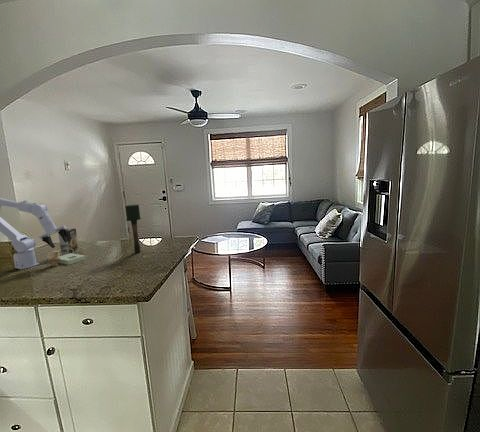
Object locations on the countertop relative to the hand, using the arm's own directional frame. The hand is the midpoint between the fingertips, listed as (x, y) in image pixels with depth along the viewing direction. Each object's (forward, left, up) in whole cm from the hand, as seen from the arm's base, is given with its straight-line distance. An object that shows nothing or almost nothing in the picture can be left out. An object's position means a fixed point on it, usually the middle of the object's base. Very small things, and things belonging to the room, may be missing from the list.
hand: (60, 244), depth 161 cm
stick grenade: (+31, -27, -11) cm, 43 cm away
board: (+4, 0, -11) cm, 12 cm away
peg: (-5, -1, -11) cm, 12 cm away
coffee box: (+13, +15, -11) cm, 23 cm away
